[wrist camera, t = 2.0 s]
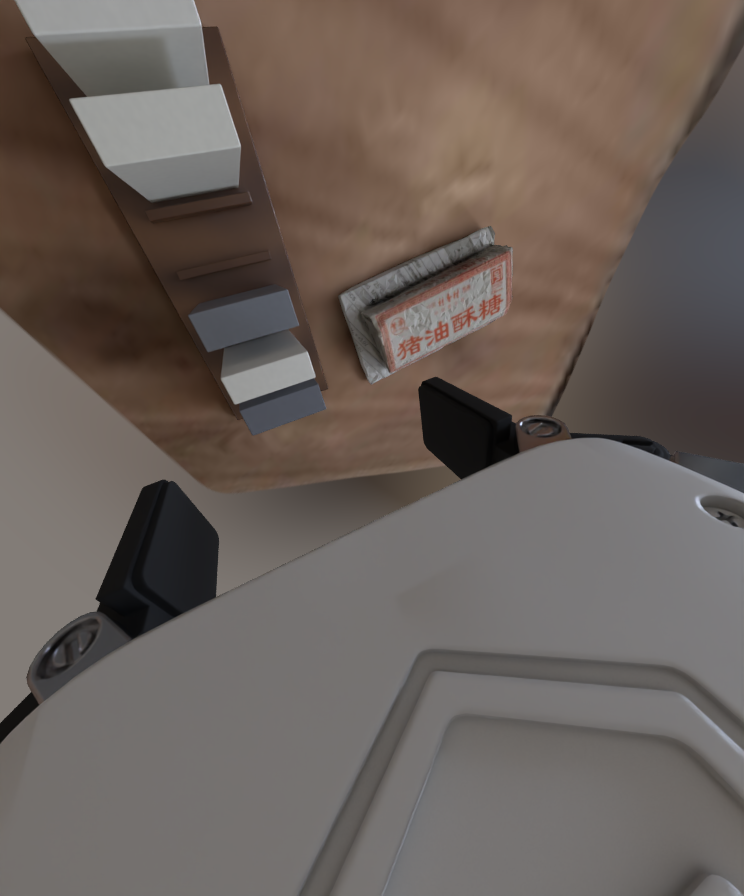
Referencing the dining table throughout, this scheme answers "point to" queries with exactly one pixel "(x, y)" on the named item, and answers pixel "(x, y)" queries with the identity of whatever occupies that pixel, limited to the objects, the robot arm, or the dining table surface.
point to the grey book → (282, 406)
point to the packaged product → (428, 302)
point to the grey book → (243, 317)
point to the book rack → (203, 221)
